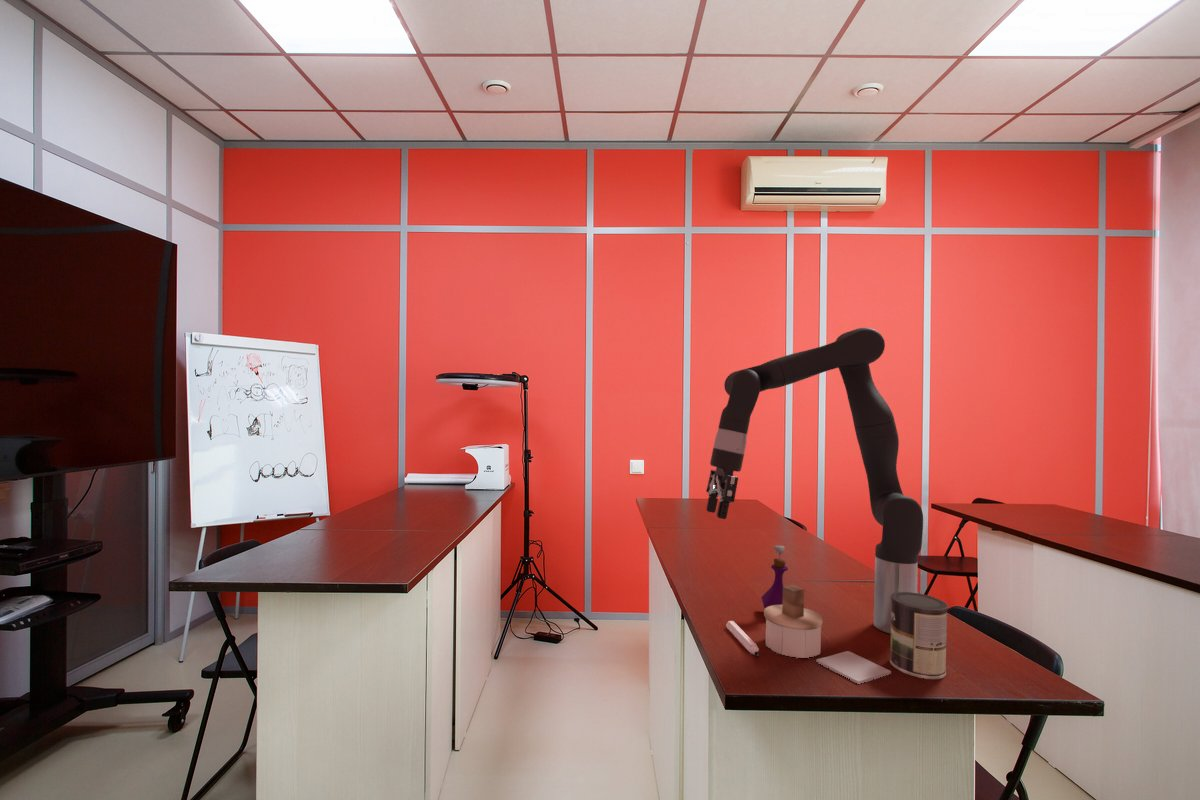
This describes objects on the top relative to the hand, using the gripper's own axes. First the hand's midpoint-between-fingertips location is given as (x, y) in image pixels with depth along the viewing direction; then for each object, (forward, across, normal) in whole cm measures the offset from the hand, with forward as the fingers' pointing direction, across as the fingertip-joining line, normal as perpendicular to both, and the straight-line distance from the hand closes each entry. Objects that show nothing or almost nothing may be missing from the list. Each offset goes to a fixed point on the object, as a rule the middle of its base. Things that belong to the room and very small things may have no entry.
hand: (715, 515), depth 131 cm
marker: (+27, -8, -10) cm, 30 cm away
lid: (+18, -11, -18) cm, 28 cm away
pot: (+24, -11, -20) cm, 33 cm away
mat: (+23, -21, -28) cm, 42 cm away
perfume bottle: (+23, +7, -24) cm, 34 cm away
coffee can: (+20, -21, -42) cm, 51 cm away
